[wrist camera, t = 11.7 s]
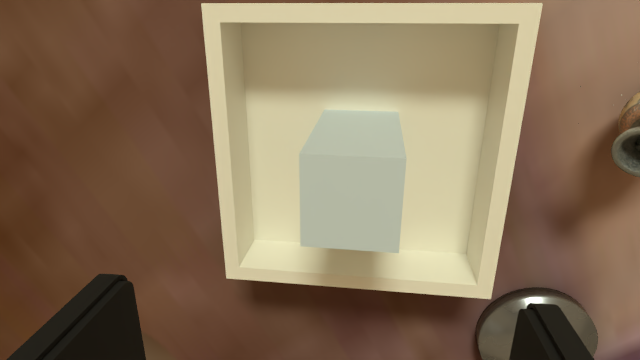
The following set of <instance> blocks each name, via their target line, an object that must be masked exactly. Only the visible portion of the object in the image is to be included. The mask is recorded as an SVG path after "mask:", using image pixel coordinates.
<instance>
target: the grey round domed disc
mask: <svg viewBox="0 0 640 360" xmlns="http://www.w3.org/2000/svg"><path fill="white" fill-rule="evenodd" d="M529 303H542V304H555V305H558V306H559V307H560V308H561V310H562V311H563V313H564V314H565V316H566V318H567V319H568V321H569V322H570V324H571V325H572V327H573V328H574V330H575V331H576V333H577V334H578V336H579V337H580V339H581V340H582V342H583V343H584V345H585V346H586V348H587V349H588V351H589V352H590V354H591V355H592V357H593V356H594V354H595V351H596V349H597V344H598V336H597V330H596V328H595V325H594V323H593V321H592V320H591V318H590V317H589V315H588V314H587V312H586V311H585V310H584V308H583V307H582V306H581V305H580V304H579V303H578V302H577V301H576V300H575V299H573V298H572V297H570V296H569V295H567V294H565V293H562V292H560V291H557V290H553V289H548V288H525V289H519V290H516V291H512V292H510V293H507V294H505V295H503V296H501V297H499V298H498V299H496V300H495V301H493V302H492V303H491V304H490V305H489V306H488V307H487V308H486V309H485V310H484V311H483V313H482V314H481V316H480V318H479V320H478V323H477V327H476V341H477V344H478V348H479V351H480V355H481V357H482V359H483V360H509V357H510V352H511V347H512V342H513V337H514V332H515V327H516V322H517V317H518V312H519V310H520V309H526V308H527V306H528V304H529Z"/></svg>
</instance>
